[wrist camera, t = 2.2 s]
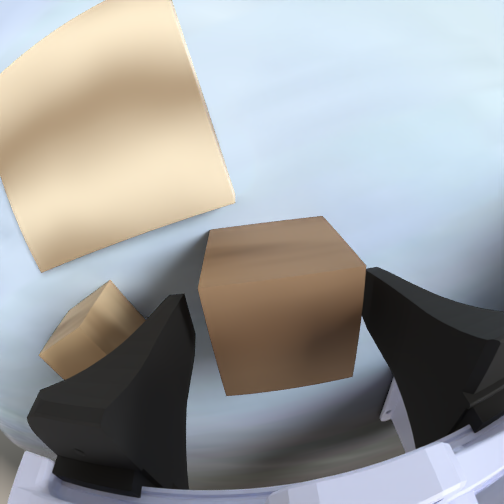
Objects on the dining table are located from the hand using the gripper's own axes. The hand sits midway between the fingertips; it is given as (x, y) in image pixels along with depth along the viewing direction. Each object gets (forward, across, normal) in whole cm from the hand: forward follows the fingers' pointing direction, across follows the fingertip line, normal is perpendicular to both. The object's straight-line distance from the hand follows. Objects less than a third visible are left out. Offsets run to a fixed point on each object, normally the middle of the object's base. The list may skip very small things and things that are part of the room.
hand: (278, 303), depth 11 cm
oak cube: (+3, +9, +2) cm, 10 cm away
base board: (+3, +7, -8) cm, 11 cm away
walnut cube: (+3, 0, 0) cm, 3 cm away
